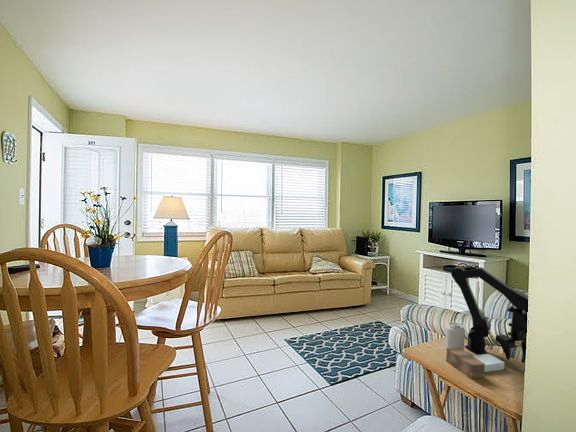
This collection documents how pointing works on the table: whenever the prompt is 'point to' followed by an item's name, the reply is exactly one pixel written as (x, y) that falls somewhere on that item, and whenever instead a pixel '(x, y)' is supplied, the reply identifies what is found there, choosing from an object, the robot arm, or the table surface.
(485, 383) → the table surface
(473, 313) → the robot arm
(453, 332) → the can
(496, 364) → the panel
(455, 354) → the wooden block
